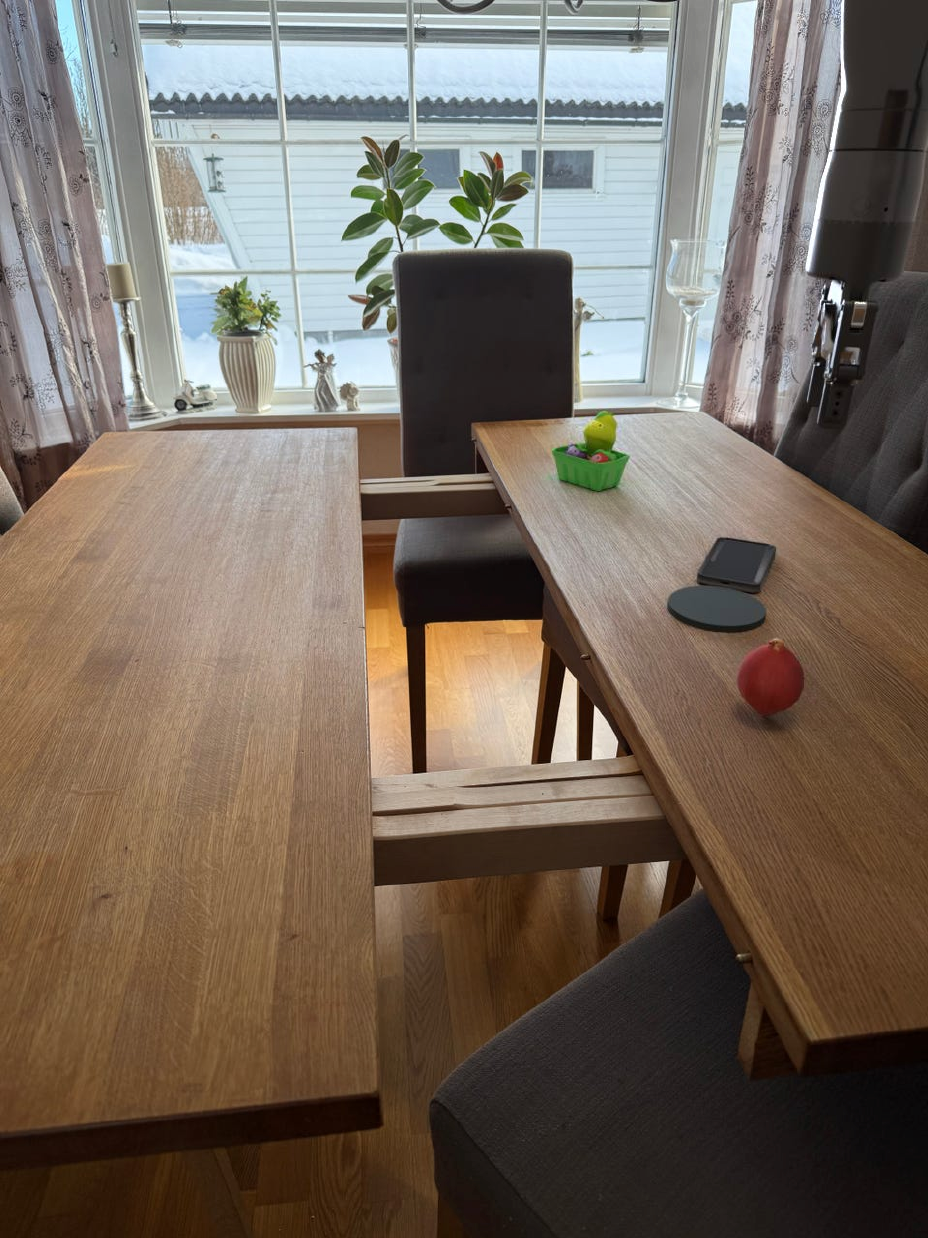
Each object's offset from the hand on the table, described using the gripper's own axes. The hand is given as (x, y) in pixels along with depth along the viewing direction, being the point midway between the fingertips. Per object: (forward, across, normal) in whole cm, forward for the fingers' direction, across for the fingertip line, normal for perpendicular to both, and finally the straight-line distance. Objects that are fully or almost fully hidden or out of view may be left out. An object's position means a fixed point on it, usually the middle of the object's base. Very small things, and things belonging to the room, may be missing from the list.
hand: (824, 416), depth 78 cm
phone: (+26, +27, +3) cm, 38 cm away
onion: (+26, -9, +1) cm, 28 cm away
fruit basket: (+26, +60, +25) cm, 70 cm away
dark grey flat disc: (+26, +13, +6) cm, 30 cm away
